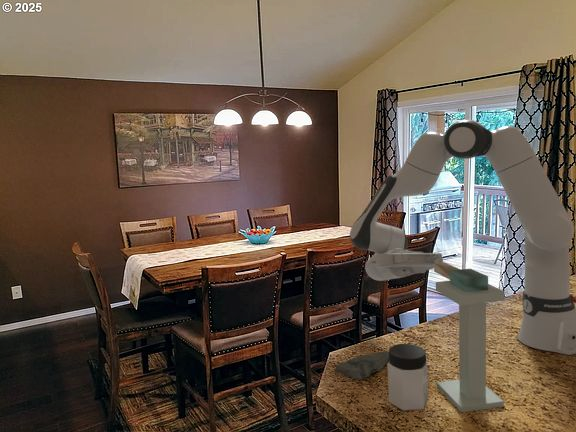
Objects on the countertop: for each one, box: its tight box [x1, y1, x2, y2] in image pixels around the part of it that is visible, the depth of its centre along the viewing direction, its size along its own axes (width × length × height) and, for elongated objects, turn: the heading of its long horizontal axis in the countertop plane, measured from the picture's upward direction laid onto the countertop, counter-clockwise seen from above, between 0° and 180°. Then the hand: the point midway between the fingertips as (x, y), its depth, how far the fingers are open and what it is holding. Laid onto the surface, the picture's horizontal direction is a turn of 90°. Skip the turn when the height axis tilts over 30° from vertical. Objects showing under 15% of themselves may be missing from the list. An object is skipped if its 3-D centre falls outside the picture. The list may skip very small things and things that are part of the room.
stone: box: [334, 350, 389, 381], centre depth 120 cm, size 17×3×10 cm
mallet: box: [433, 260, 489, 292], centre depth 104 cm, size 5×18×3 cm, turn 8°
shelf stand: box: [435, 280, 506, 413], centre depth 101 cm, size 10×11×26 cm
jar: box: [387, 343, 429, 411], centre depth 102 cm, size 9×8×12 cm
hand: (423, 256), depth 124 cm, fingers open, 8 cm apart
